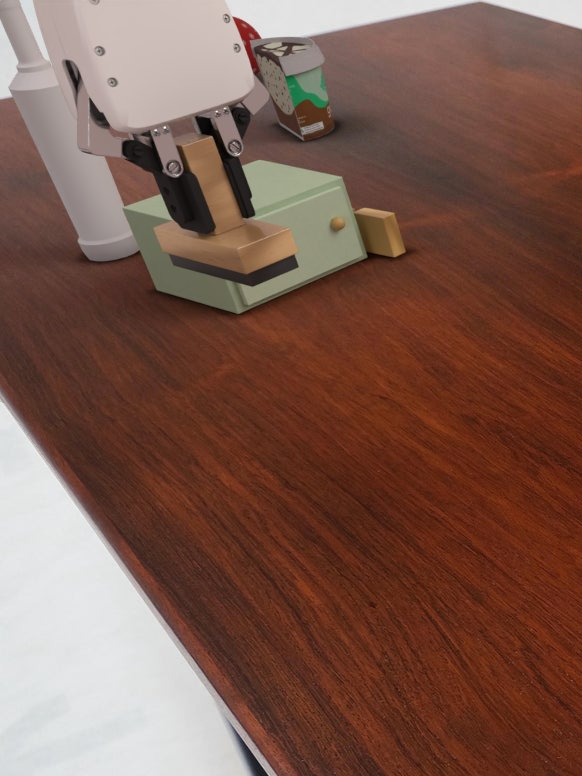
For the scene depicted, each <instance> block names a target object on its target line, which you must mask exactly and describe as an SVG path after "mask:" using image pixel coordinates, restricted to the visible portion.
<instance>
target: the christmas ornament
mask: <svg viewBox="0 0 582 776" xmlns="http://www.w3.org/2000/svg"><path fill="white" fill-rule="evenodd" d="M232 17H233V20H234V22H235V24H236V27H237V29H238V31H239V34H240V37H241V39H242V42H243V44H244V47H245V49H246V52H247V55H248V58H249V61H250V64H251V68H252V71H253V73H254V75H255V76H256V77H257V76H258V75H259V73H261V72H260V69H259V66H258V63H257V61H256V58H254V56H253V52H252V49H251V44H250V41H251V40H257V39H263V38H262V36H261V35H260V33H259V32H258V31H257V29H255V28H254V26H252V25H251V24H250V23H248V22H247V21H246V20H243V19H241V18H240V17H237V16H233V15H232Z"/></svg>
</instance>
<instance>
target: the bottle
mask: <svg viewBox="0 0 582 776" xmlns="http://www.w3.org/2000/svg"><path fill="white" fill-rule="evenodd" d="M0 22H1V25H2V27H3V29H4V32H5V33H6V37H7V39H8V40H9V43H10V45H11V47H12V50H13V53H14V54H15V57H16V59H17V62H18V63H17V65H16V66H15V67H16V70H17V72H16V74H15V76H14V77H13V79H12V80H11V82H10V84H9V86H8V87H7V88H8V90H9V92H10V94H11V96H12V99H13V101H14V102H15V105H16V107H17V109H18V111H19V113H20V115H21V117H22V119H23V121H24V124H25V126H26V128H27V130H28V132H29V135H30V137H31V139H32V140H33V143H34V145H35V147H36V149H37V151H38V153H39V156H40V157H41V160H42V162H43V164H44V166H45V167H46V171H47V173H48V175H49V177H50V179H51V180H52V183H53V185H54V187H55V189H56V191H57V193H58V195H59V197H60V200H61V202H62V204H63V206H64V208H65V210H66V212H67V214H68V217H69V218H70V219H69V220H70V221H71V223H72V225H73V228H74V230H75V231H76V233H77V235H78V239H77V243H78V245H79V247H80V250H81V251H82V252H83V253H84V254H83V255H85V256H86V257H87V259H88V260H89V261H93V262H109V261H117V260H120V259H123V258H127V257H129V256H133V255H135V254H136V253H137V252H140V249H139V247H138V245H137V242H136V240H135V238H134V235H133V233H132V231H131V228H130V226H129V223H128V221H127V219H126V216H125V214H124V212H123V209H122V207H125V205H124V202H123V199H122V197H121V193H120V192H119V190H118V187H117V185H116V182H115V179H114V177H113V174H112V172H111V169H110V167H109V164H108V162H107V159H106V157H104V156H96V155H92V154H87V153H84V152H82V151H80V150H79V148H78V146H77V121H76V119H75V118H74V117H73V115H72V114H71V112H70V110H69V108H68V106H67V103H66V101H65V99H64V96H63V94H62V91H61V89H60V86H59V83H58V81H57V78H56V75H55V72H54V70H53V67H52V64H51V61H50V59H49V60H48V59H46V58H44V55H43V53H42V51H41V49H40V46H39V44H38V41H37V40H36V37H35V35H34V32H33V30H32V27H31V26H30V23H29V21H28V19H27V16H26V14H25V12H24V9H23V8H22V3H21V1H20V0H0Z"/></svg>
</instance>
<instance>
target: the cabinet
mask: <svg viewBox="0 0 582 776" xmlns="http://www.w3.org/2000/svg"><path fill="white" fill-rule="evenodd" d="M242 168H243V171H244V173H245V176H246V179H247V182H248V184H249V187H250V190H251V193H252V198H251V202H252V205H253V208H254V210H255V216H253V217H251V218H250V219H254V220H258V221H262V222H267V223H271V224H275V225H279V226H284V227H288V228H290V230H291V233H292V236H293V238H294V241H295V244H296V247H297V250H298V253H297V254H295V257H296V260H297V263H298V266H299V267H298V268H296V269H294V270H291V271H289V272H287V273H284V274H282V275H280V276H277V277H275V278H273V279H270V280H268V281H266V282H263V283H261V284H259V285H256V286H254V287H251V286H247V285H243V284H240V283H236V282H232V281H229V280H225V279H221V278H217V277H214V276H210V275H206V274H203V273H199V272H195V271H192V270H188V269H184V268H181V267H177V266H174V265H173V264H172V261H171V259H170V256H169V254H168V253H164V252H163V251H162V248H161V246H160V243H159V241H158V239H157V236H156V234H155V231H154V229H153V228H154V227H157V226H159V225H162V224H165V223H168V222H170V221H173V219H172V218H171V216H170V215H169V212H168V210H167V208H166V205H165V203H164V200H163V198H162V195H161V193H159V194H157V195H154V196H151V197H148V198H145V199H143V200H139V201H136V202H133V203H131V204H127V205H124V207H122V209H123V212H124V214H125V216H126V219H127V221H128V223H129V226H130V228H131V231H132V233H133V235H134V238H135V240H136V242H137V245H138V247H139V249H140V250H139V252H140V254H141V256H142V259H143V261H144V263H145V266H146V268H147V271H148V273H149V275H150V277H151V280H152V282H153V285H154V287H155V289H156V291H158V292H162V293H165V294H169V295H172V296H175V297H179V298H182V299H185V300H189V301H193V302H195V303H200V304H201V305H206V306H210V307H213V308H215V309H216V308H217V309H220V310H223V311H227V312H229V313H234V314H237V315H240V314H242V313H244V312H246V311H248V310H251V309H253V308H255V307H258V306H260V305H262V304H266V303H267V302H269V301H272V300H274V299H276V298H278V297H280V296H283V295H285V294H288V293H290V292H292V291H295V290H296V289H297V290H298V289H299V288H302V287H304V286H306V285H308V284H309V283H310V284H311V283H314V282H315V281H317V280H319V279H321V278H324V277H327V276H329V275H331V274H333V273H336V272H338V271H340V270H342V269H345V268H347V267H349V266H352V265H354V264H356V263H358V262H361V261H363V260H365V259H368V254H367V253H368V252H366V250H365V247H364V244H363V241H362V238H361V235H360V231H359V228H358V225H357V222H356V219H355V216H354V213H353V209H352V208H353V207H352V204H351V200H350V197H349V193H348V191H347V188H346V184H345V181H344V178H343V176H341V175H334V174H329V173H325V172H321V171H316V170H311V169H307V168H302V167H297V166H292V165H288V164H282V163H278V162H274V161H273V162H272V161H269V160H263V159H258V160H255V161H252V162H249V163H245V164H244V165H242Z"/></svg>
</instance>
